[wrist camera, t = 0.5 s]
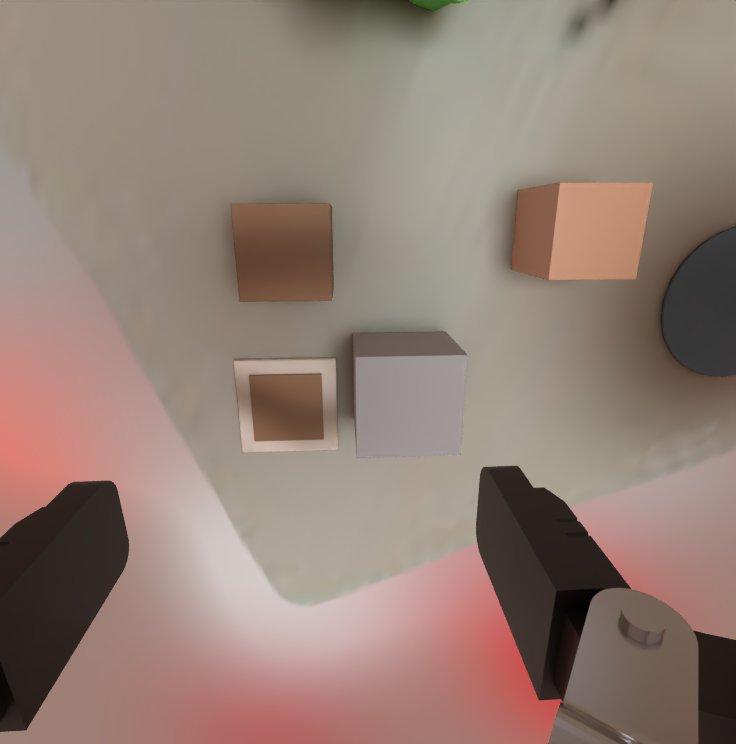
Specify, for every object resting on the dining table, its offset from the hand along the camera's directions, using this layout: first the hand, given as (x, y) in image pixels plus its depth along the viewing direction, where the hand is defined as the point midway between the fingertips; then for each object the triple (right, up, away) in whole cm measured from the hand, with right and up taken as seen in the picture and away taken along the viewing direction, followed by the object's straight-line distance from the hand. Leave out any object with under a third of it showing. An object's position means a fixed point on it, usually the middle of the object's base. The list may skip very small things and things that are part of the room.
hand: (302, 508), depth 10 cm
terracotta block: (+14, +12, +20) cm, 27 cm away
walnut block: (-3, +11, +20) cm, 23 cm away
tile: (-4, +1, +23) cm, 23 cm away
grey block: (+4, +3, +23) cm, 23 cm away
